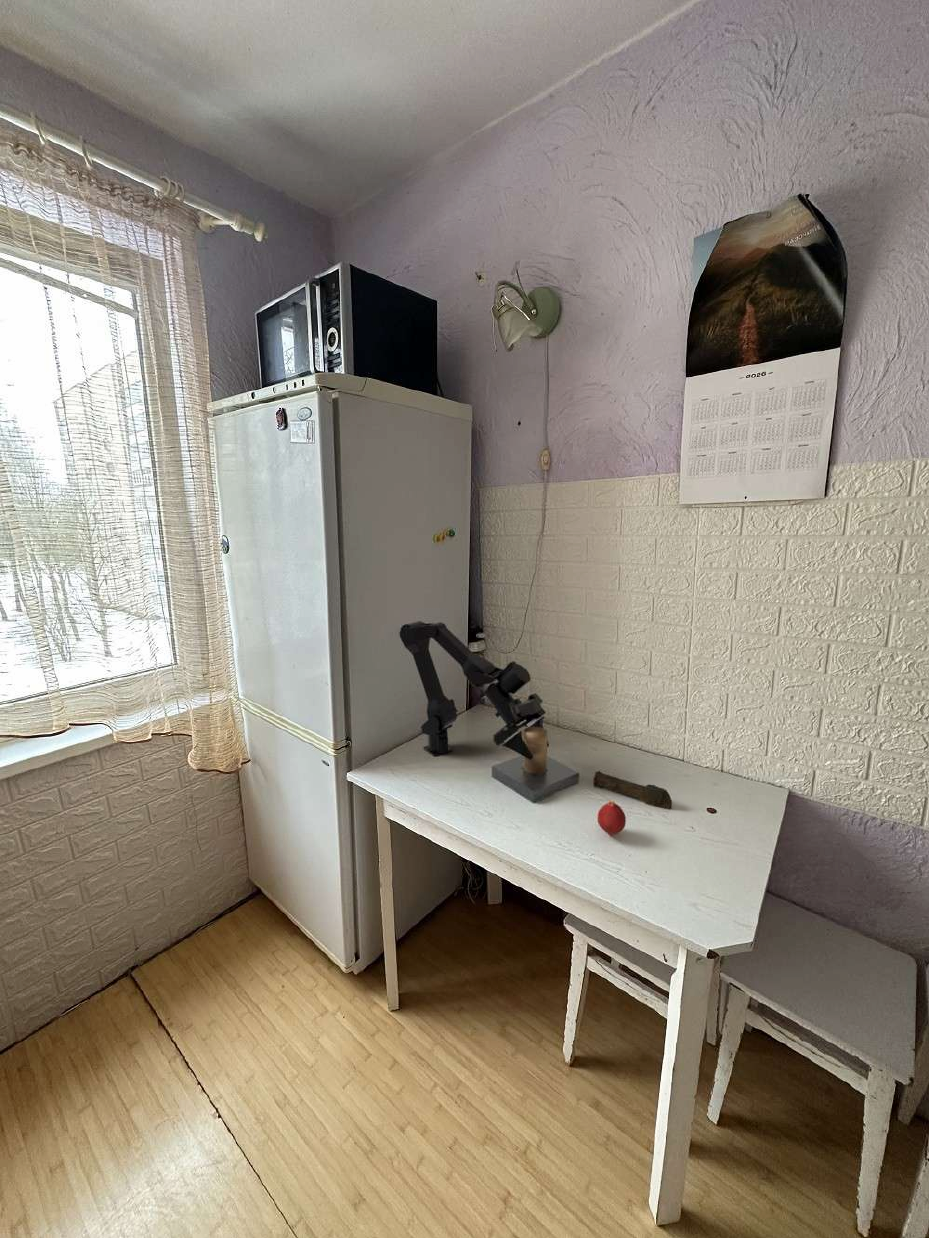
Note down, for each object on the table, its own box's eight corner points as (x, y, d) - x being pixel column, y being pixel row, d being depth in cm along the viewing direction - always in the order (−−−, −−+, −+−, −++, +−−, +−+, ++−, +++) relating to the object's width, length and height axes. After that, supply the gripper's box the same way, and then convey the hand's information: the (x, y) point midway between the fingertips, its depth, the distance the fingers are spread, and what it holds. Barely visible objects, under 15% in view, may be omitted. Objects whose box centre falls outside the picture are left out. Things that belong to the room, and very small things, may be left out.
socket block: (491, 776, 134) (491, 766, 133) (535, 760, 143) (536, 750, 142) (533, 803, 121) (533, 791, 120) (578, 783, 130) (579, 772, 129)
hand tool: (591, 788, 128) (592, 771, 127) (598, 782, 131) (599, 765, 130) (667, 815, 116) (668, 797, 115) (672, 808, 119) (674, 790, 118)
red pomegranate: (603, 823, 112) (605, 790, 111) (629, 833, 109) (631, 799, 107) (592, 835, 108) (594, 801, 107) (618, 846, 104) (620, 811, 103)
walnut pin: (520, 781, 130) (521, 734, 127) (525, 771, 135) (526, 725, 133) (544, 785, 128) (545, 737, 126) (547, 774, 134) (549, 728, 131)
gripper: (504, 696, 122) (543, 750, 118) (540, 677, 137) (576, 725, 133) (477, 719, 128) (514, 772, 124) (514, 699, 143) (548, 745, 139)
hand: (540, 752), depth 130 cm, fingers open, 8 cm apart
